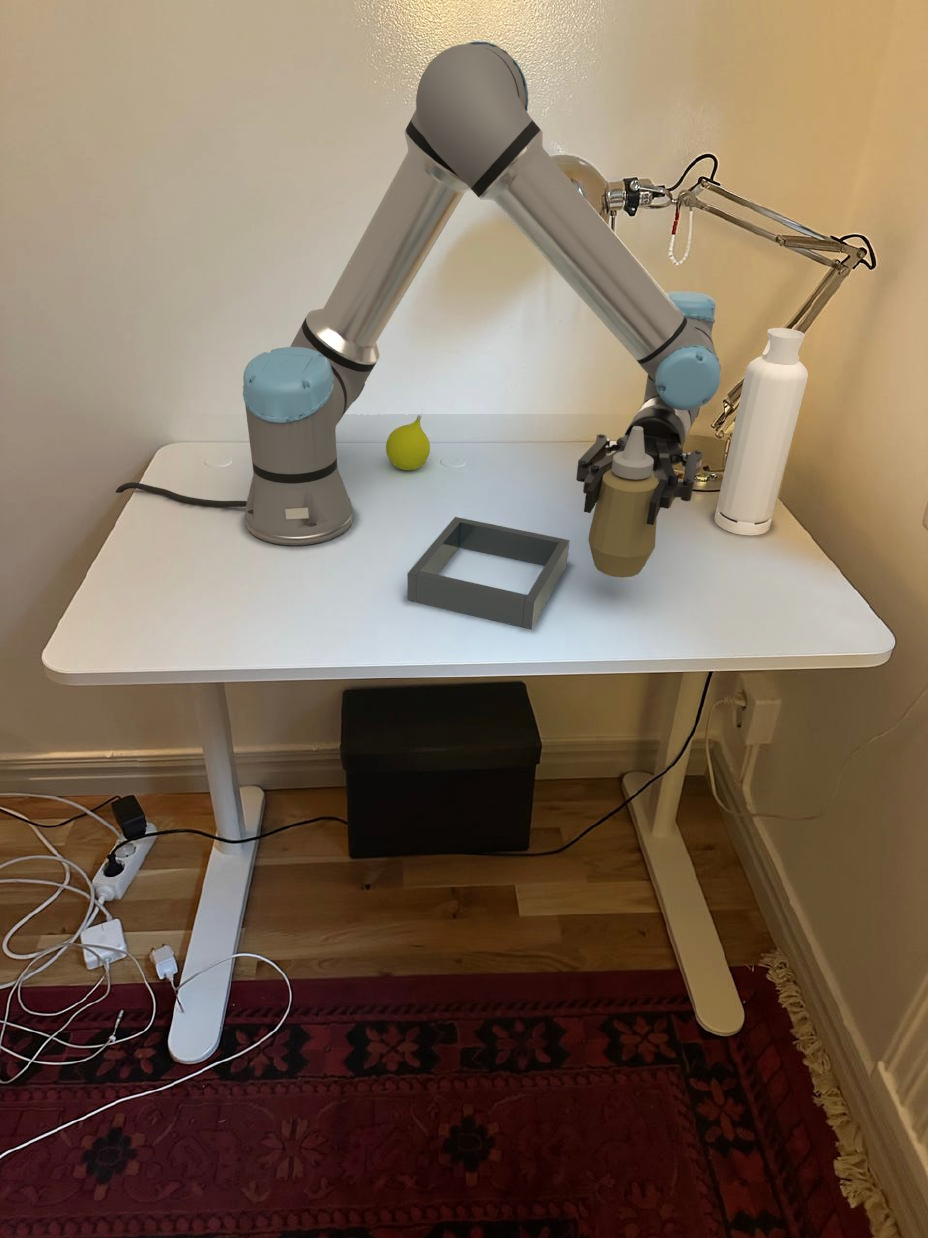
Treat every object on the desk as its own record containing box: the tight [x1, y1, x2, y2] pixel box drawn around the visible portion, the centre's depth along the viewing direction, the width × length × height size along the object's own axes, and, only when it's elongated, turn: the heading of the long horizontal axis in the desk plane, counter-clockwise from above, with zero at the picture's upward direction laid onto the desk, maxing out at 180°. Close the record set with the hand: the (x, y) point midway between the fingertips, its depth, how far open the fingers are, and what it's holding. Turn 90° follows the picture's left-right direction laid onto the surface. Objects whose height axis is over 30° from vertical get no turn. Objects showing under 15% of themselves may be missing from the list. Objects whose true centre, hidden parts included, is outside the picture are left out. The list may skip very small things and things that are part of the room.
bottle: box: [713, 327, 809, 536], centre depth 124 cm, size 8×8×28 cm
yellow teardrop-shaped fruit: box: [385, 408, 431, 471], centre depth 141 cm, size 7×7×10 cm
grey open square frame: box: [406, 516, 571, 630], centre depth 114 cm, size 16×16×4 cm
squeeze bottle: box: [588, 426, 659, 578], centre depth 103 cm, size 8×8×18 cm
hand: (619, 507), depth 99 cm, fingers closed on squeeze bottle, 6 cm apart
